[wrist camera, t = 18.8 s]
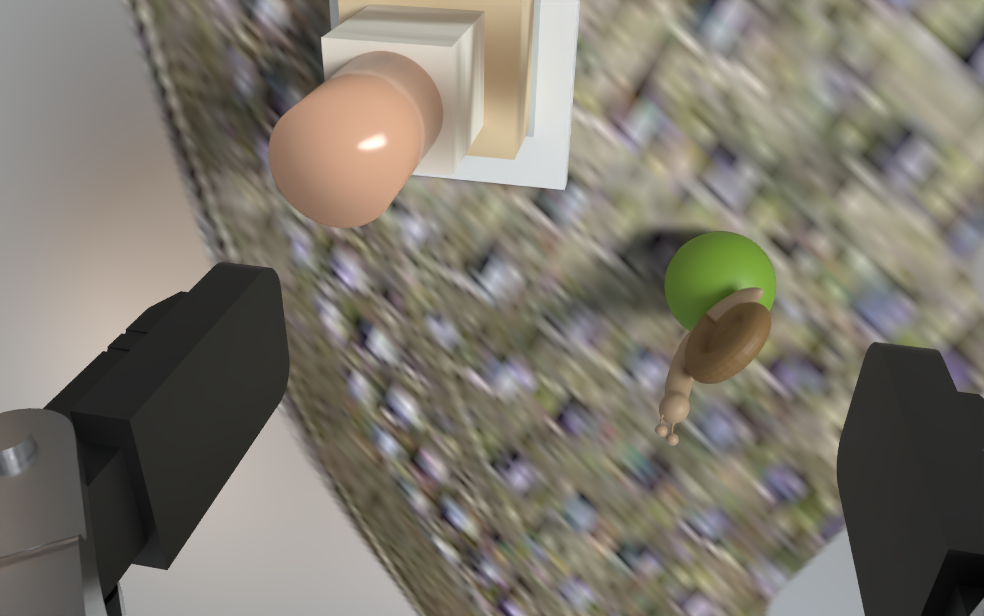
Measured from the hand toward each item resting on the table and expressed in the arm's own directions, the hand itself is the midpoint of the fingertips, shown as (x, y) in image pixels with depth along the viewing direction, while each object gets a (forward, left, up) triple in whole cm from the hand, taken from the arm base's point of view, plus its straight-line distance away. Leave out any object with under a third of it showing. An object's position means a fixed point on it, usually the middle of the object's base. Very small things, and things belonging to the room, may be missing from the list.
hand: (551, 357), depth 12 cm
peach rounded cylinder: (+4, -9, -21) cm, 23 cm away
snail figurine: (+15, +5, -32) cm, 36 cm away
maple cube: (+4, -9, -27) cm, 29 cm away
